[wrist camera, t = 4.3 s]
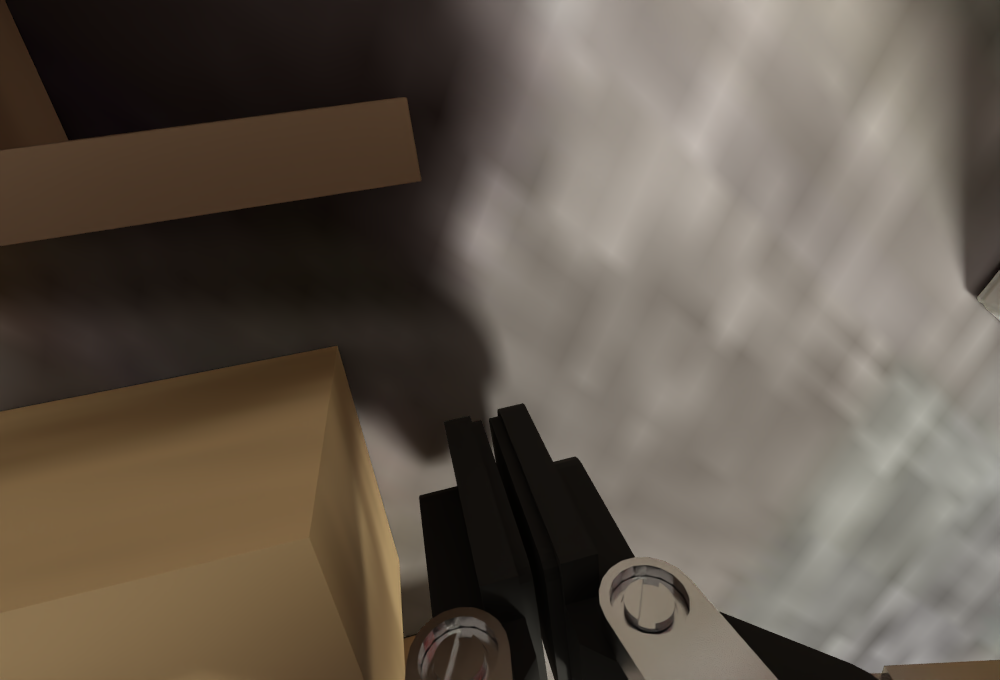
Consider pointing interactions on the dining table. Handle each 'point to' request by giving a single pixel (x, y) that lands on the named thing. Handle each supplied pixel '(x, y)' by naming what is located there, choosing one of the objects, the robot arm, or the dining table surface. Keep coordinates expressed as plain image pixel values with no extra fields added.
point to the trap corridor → (181, 161)
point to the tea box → (992, 296)
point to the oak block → (198, 532)
